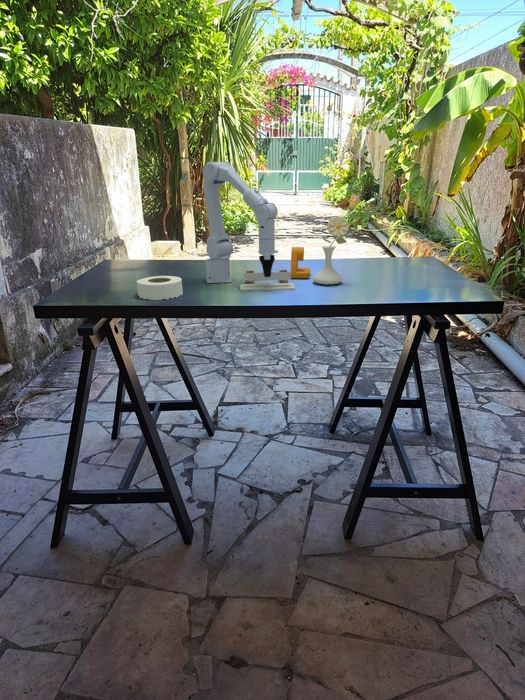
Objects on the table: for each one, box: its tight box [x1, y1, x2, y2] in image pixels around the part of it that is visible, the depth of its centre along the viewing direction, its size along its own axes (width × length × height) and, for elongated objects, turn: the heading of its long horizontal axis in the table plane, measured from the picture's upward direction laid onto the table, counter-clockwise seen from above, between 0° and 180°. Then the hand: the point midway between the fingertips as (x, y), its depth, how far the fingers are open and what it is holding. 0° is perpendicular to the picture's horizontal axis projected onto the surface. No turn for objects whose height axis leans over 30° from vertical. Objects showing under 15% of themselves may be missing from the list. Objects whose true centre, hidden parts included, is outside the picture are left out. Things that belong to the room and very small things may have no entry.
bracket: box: [290, 246, 311, 279], centre depth 193 cm, size 11×7×12 cm, turn 172°
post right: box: [278, 269, 289, 283], centre depth 186 cm, size 3×5×4 cm, turn 1°
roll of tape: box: [136, 275, 184, 301], centre depth 170 cm, size 16×16×6 cm
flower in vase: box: [312, 215, 350, 285], centre depth 178 cm, size 13×11×25 cm
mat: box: [239, 282, 296, 292], centre depth 178 cm, size 20×8×1 cm, turn 91°
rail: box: [243, 271, 292, 282], centre depth 177 cm, size 17×2×2 cm, turn 91°
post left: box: [245, 270, 255, 284], centre depth 186 cm, size 3×5×4 cm, turn 1°
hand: (267, 275), depth 176 cm, fingers closed on rail, 2 cm apart
